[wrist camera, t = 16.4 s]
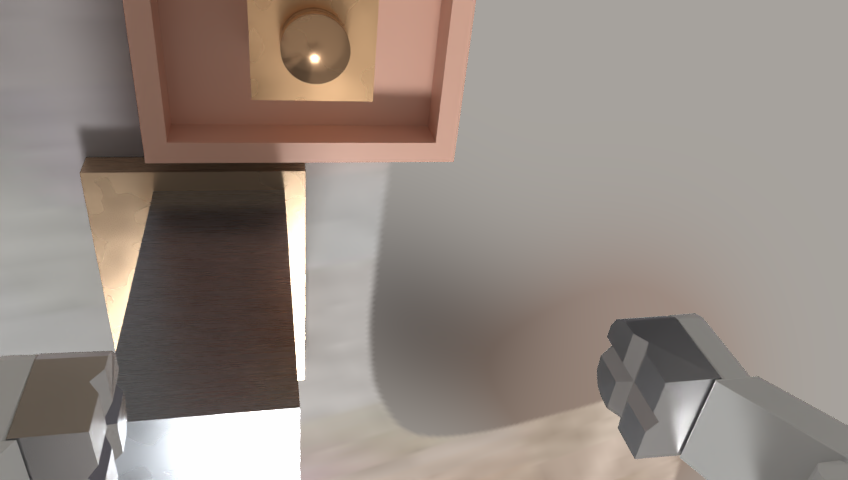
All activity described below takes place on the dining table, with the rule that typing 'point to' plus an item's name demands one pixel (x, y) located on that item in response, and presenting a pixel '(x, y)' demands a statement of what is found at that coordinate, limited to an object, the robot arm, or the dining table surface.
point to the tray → (287, 119)
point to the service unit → (203, 313)
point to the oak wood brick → (312, 49)
